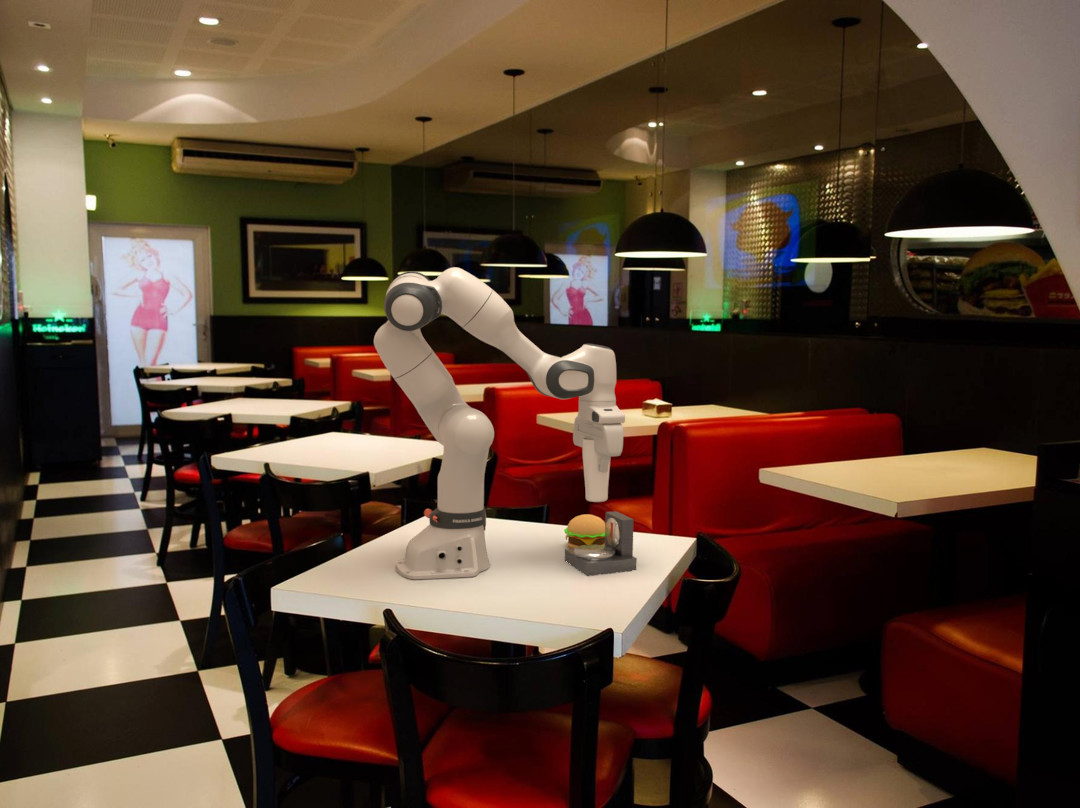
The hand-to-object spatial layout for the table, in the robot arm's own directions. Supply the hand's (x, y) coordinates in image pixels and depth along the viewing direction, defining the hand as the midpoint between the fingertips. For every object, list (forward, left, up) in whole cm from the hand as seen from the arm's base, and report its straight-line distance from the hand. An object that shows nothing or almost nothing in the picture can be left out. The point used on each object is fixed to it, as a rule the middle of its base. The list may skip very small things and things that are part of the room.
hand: (595, 469), depth 203 cm
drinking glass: (0, 0, -8) cm, 8 cm away
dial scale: (+2, 0, -24) cm, 24 cm away
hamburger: (+6, +16, -24) cm, 30 cm away
